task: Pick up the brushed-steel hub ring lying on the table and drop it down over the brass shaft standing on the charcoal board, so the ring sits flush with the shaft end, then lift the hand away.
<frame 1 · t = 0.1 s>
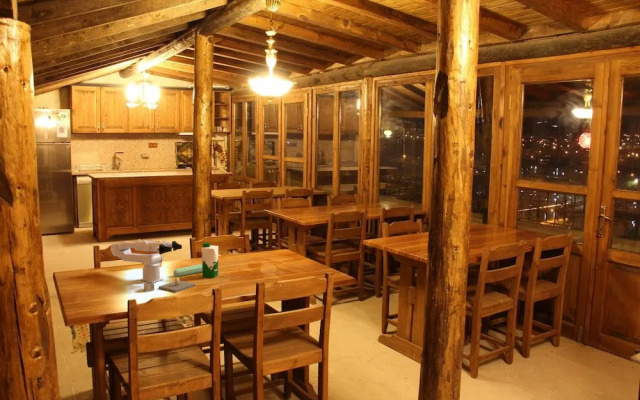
hand: (176, 248, 309), 22 cm above the table, tool horizontal, fingers open, 7 cm apart
shaft stand: (177, 287, 310), on the table
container: (193, 274, 338), on the table
hub ring: (149, 289, 304), on the table
milk carton: (210, 276, 333), on the table
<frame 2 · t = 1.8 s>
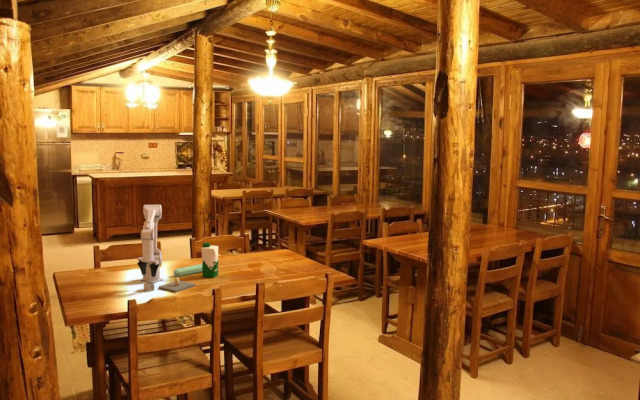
hand: (148, 275, 303), 8 cm above the table, tool pointing down, fingers open, 7 cm apart
nothing on the table moved.
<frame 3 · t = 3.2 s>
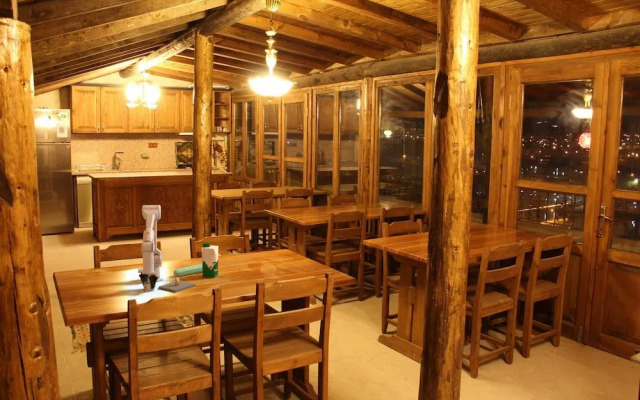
hand: (149, 287, 304), 1 cm above the table, tool pointing down, fingers closed on hub ring, 5 cm apart
hub ring: (149, 289, 304), on the table, touching gripper
everything else where it was.
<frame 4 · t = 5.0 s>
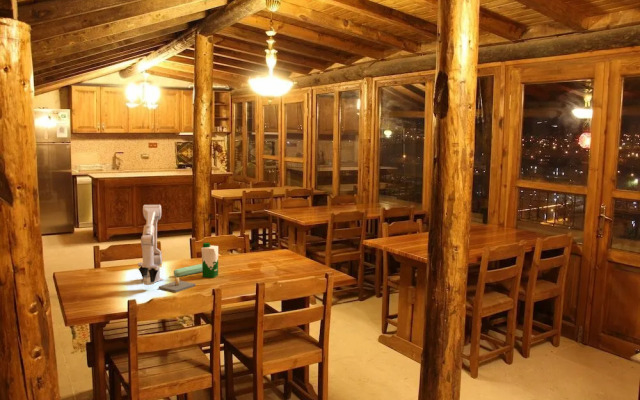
hand: (148, 280, 303), 5 cm above the table, tool pointing down, fingers closed on hub ring, 5 cm apart
hub ring: (148, 283, 304), point 4 cm above the table, touching gripper
everything else where it was.
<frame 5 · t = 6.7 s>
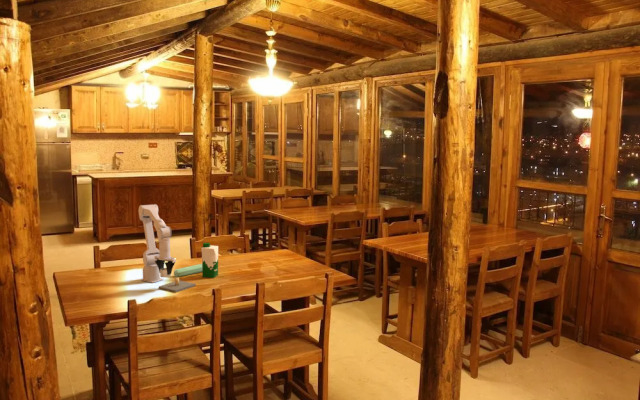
hand: (165, 273, 306), 8 cm above the table, tool pointing down, fingers closed on hub ring, 5 cm apart
hub ring: (165, 276, 306), point 7 cm above the table, touching gripper
everything else where it was.
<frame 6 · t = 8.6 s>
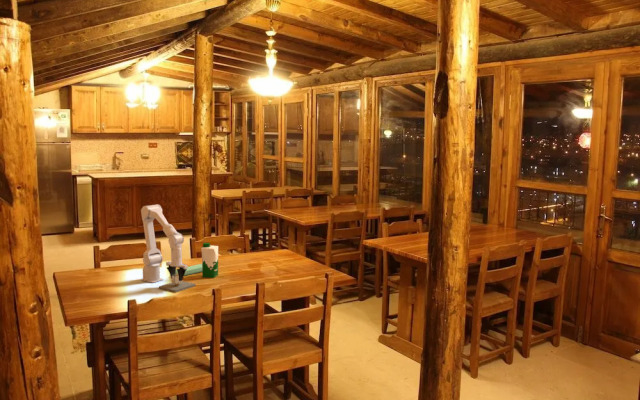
hand: (177, 279, 309), 4 cm above the table, tool pointing down, fingers closed on hub ring, 5 cm apart
hub ring: (177, 282, 309), point 3 cm above the table, touching gripper
everything else where it was.
when the fingers open (4 cm above the table, at t = 10.1 s): hub ring drops 1 cm, resting on shaft stand.
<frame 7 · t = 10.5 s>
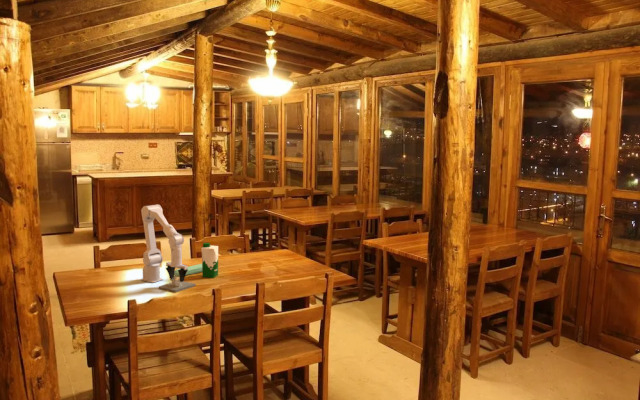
hand: (177, 280, 309), 4 cm above the table, tool pointing down, fingers open, 7 cm apart
hub ring: (177, 285, 309), point 1 cm above the table, touching shaft stand
everything else where it was.
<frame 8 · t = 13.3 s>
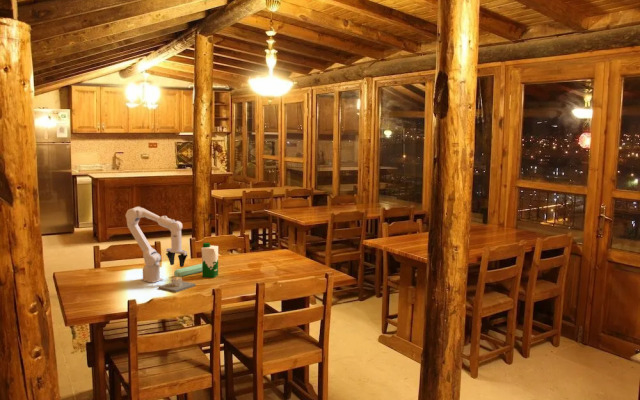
hand: (177, 265, 319), 9 cm above the table, tool pointing down, fingers open, 7 cm apart
nothing on the table moved.
at the end: hub ring 0.0 cm from the shaft stand (horizontally); hub ring point 1.2 cm above the table; the gripper is holding nothing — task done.
